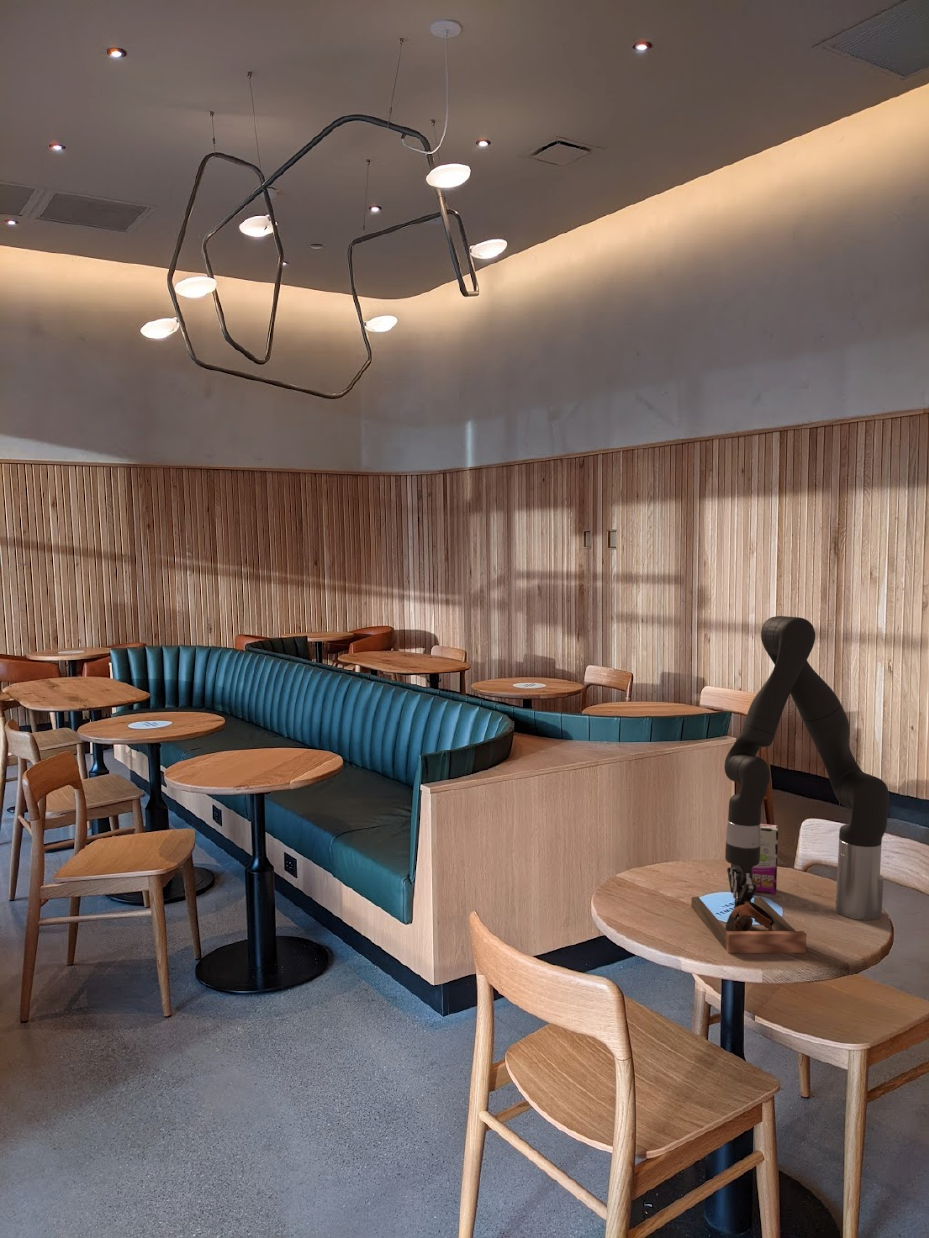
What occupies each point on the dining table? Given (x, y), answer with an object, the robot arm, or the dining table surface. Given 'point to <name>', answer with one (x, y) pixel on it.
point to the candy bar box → (767, 861)
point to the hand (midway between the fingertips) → (739, 916)
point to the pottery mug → (748, 917)
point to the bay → (754, 933)
